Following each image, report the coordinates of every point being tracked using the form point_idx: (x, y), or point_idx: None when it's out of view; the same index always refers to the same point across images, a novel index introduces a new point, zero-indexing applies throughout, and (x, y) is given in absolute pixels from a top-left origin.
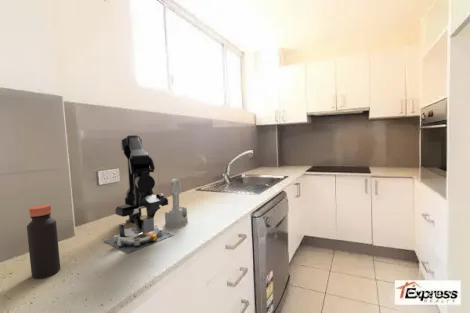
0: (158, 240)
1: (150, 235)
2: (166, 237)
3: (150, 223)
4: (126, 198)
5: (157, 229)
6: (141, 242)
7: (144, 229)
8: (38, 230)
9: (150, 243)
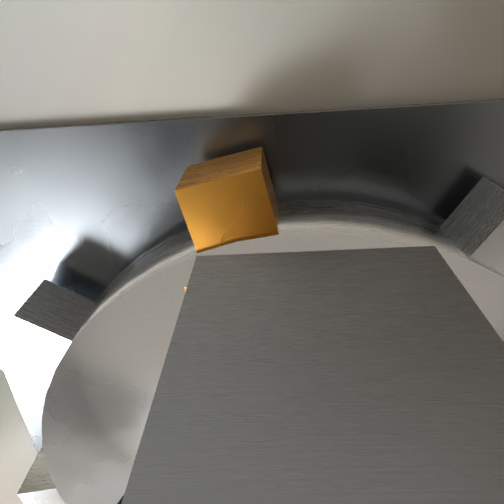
0: (185, 132)
1: (280, 237)
2: (40, 134)
3: (285, 382)
4: None
5: (73, 370)
6: (425, 223)
7: (468, 301)
8: None
9: (326, 129)
